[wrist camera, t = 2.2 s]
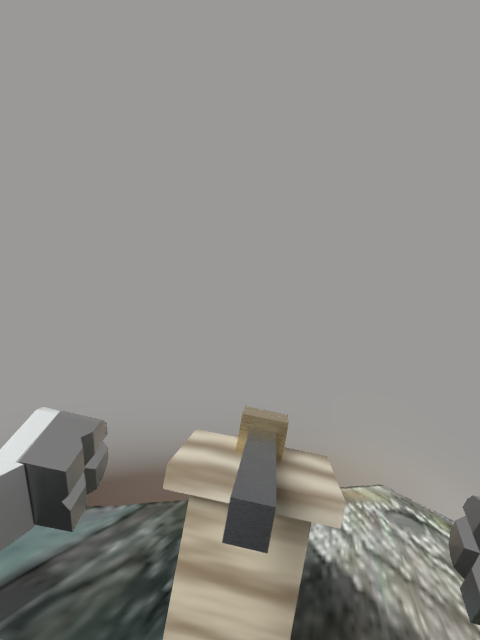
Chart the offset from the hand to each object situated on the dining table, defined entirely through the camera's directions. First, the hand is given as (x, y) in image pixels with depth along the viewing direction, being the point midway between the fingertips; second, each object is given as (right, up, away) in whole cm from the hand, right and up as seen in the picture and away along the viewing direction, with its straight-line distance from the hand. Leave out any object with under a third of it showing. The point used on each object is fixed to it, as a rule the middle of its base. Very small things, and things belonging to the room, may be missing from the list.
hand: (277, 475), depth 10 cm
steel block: (0, -9, +24) cm, 26 cm away
